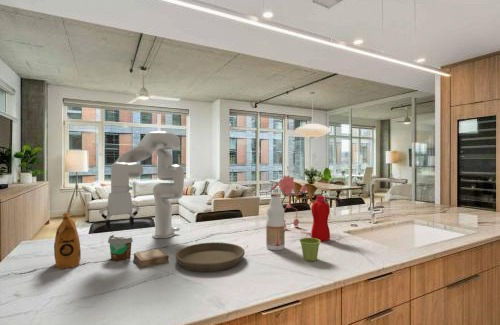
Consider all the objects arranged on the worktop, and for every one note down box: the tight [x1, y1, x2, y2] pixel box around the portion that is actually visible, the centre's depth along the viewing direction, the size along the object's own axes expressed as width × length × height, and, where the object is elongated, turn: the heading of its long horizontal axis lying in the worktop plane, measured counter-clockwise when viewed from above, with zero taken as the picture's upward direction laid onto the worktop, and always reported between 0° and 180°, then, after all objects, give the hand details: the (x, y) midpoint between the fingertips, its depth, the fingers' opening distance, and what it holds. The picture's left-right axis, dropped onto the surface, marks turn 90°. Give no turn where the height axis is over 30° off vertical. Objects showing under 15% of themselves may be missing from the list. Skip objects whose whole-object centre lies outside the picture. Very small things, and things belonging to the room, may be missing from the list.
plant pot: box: [299, 237, 321, 262], centre depth 133 cm, size 9×9×9 cm
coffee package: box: [53, 212, 82, 270], centre depth 127 cm, size 10×12×22 cm
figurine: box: [269, 175, 308, 231], centre depth 196 cm, size 15×26×35 cm, turn 113°
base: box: [133, 248, 170, 269], centre depth 131 cm, size 12×12×3 cm
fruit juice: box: [265, 192, 286, 251], centre depth 150 cm, size 9×9×28 cm
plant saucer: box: [174, 242, 245, 273], centre depth 132 cm, size 31×31×5 cm
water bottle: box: [310, 195, 331, 243], centre depth 165 cm, size 9×11×25 cm
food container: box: [107, 234, 133, 262], centre depth 133 cm, size 12×6×10 cm, turn 68°
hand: (119, 227), depth 133 cm, fingers open, 9 cm apart
